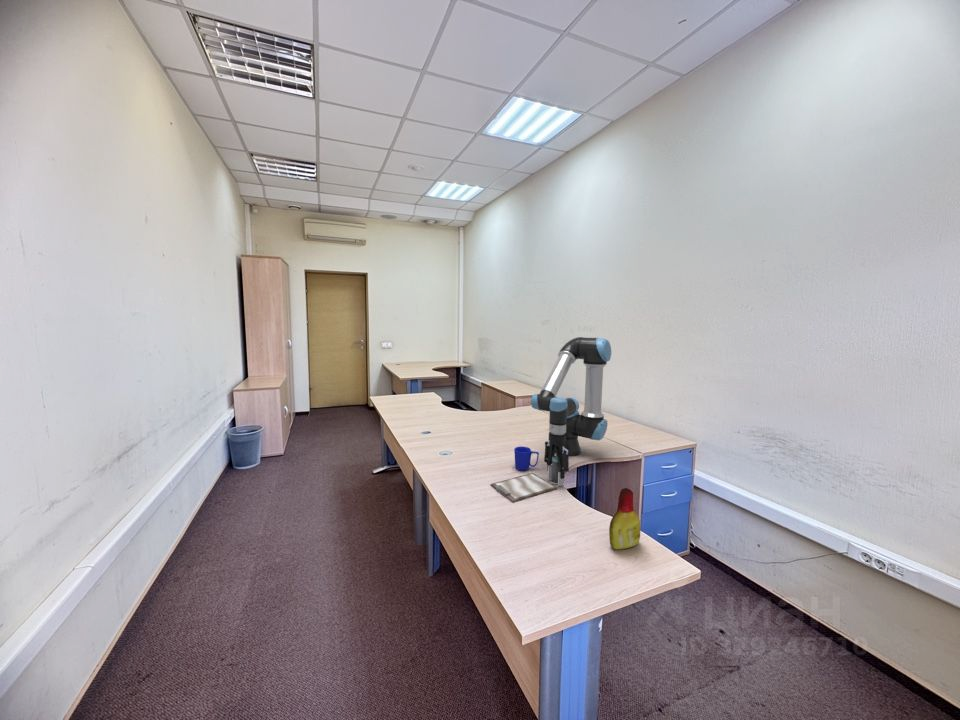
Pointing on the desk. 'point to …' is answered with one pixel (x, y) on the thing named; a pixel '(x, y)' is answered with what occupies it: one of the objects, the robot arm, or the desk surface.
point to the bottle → (624, 523)
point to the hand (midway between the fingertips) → (555, 481)
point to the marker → (555, 470)
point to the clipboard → (523, 487)
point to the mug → (523, 458)
